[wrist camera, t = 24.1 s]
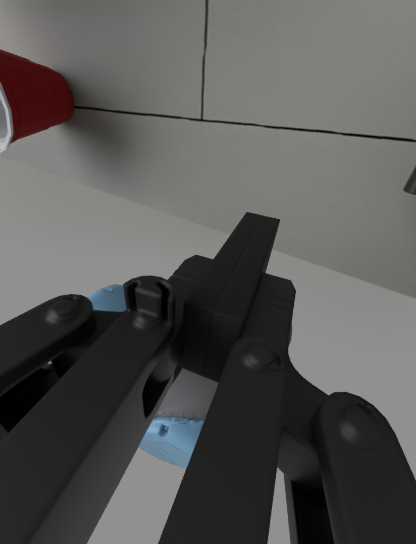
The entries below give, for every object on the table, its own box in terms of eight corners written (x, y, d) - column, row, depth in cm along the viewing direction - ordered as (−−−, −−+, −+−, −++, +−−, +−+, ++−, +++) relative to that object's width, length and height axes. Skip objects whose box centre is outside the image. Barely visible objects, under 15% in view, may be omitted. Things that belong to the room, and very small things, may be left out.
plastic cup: (81, 159, 37) (0, 178, 28) (21, 108, 36) (-83, 110, 27) (101, 85, 31) (5, 76, 21) (29, 19, 30) (-106, -19, 20)
